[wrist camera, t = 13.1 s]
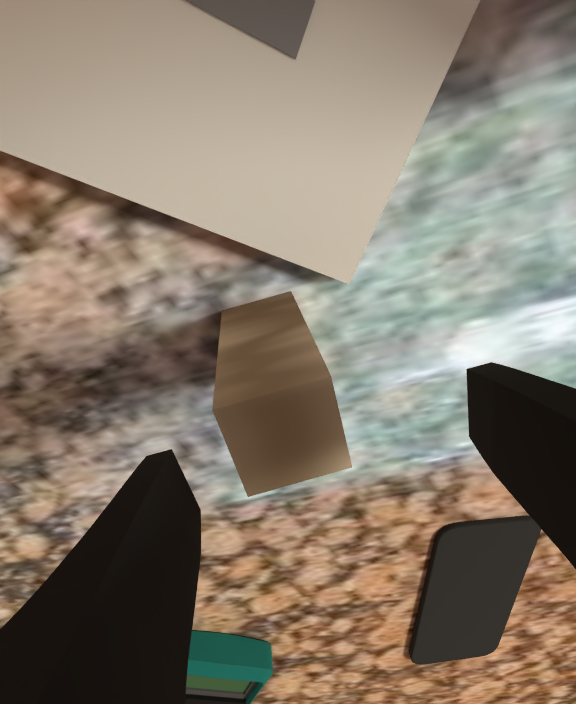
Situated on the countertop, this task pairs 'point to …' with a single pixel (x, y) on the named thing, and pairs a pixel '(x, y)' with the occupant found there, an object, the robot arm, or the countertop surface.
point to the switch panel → (232, 108)
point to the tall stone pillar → (276, 397)
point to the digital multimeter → (226, 668)
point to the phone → (471, 587)
